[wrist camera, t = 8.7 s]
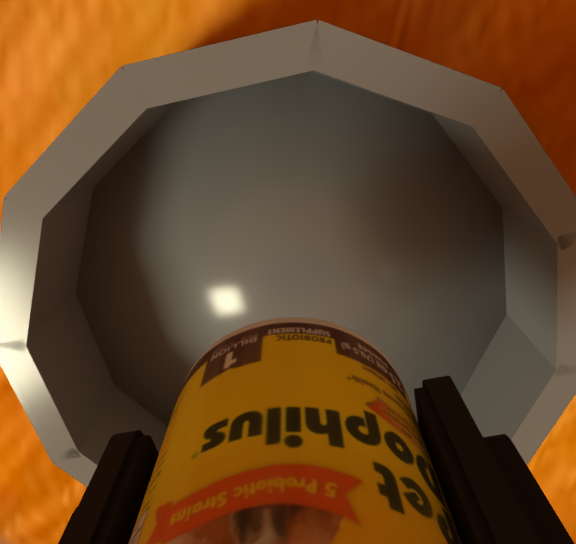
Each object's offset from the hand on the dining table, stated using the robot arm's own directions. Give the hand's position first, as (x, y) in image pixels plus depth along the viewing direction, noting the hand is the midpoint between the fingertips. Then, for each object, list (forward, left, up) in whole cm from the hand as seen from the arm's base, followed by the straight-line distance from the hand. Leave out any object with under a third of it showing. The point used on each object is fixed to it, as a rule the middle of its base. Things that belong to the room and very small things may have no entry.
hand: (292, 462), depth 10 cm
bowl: (0, 0, -9) cm, 9 cm away
